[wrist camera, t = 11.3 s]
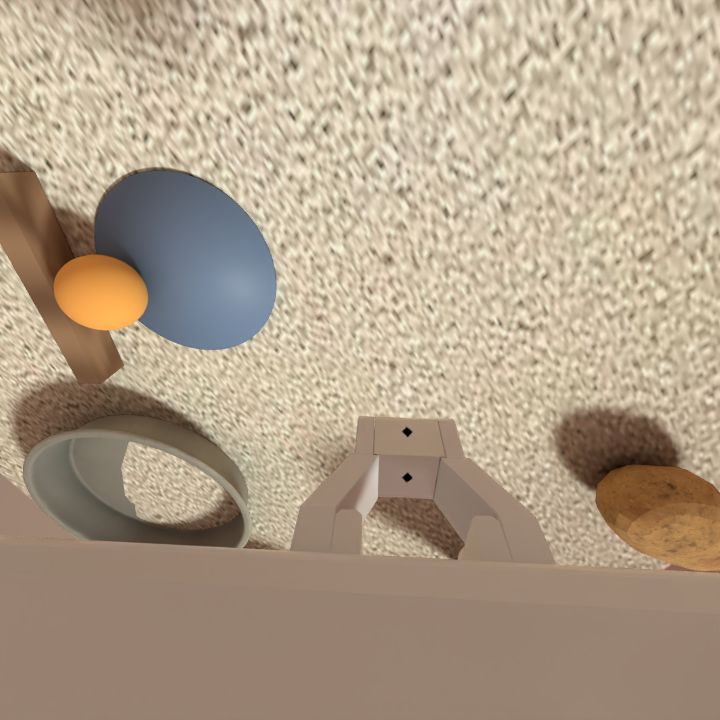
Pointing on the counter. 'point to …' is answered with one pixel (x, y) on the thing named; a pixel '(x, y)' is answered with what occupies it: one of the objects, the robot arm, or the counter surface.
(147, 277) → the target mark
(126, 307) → the ball
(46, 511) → the grey ring
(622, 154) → the counter surface
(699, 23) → the counter surface
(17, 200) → the bar
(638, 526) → the potato
